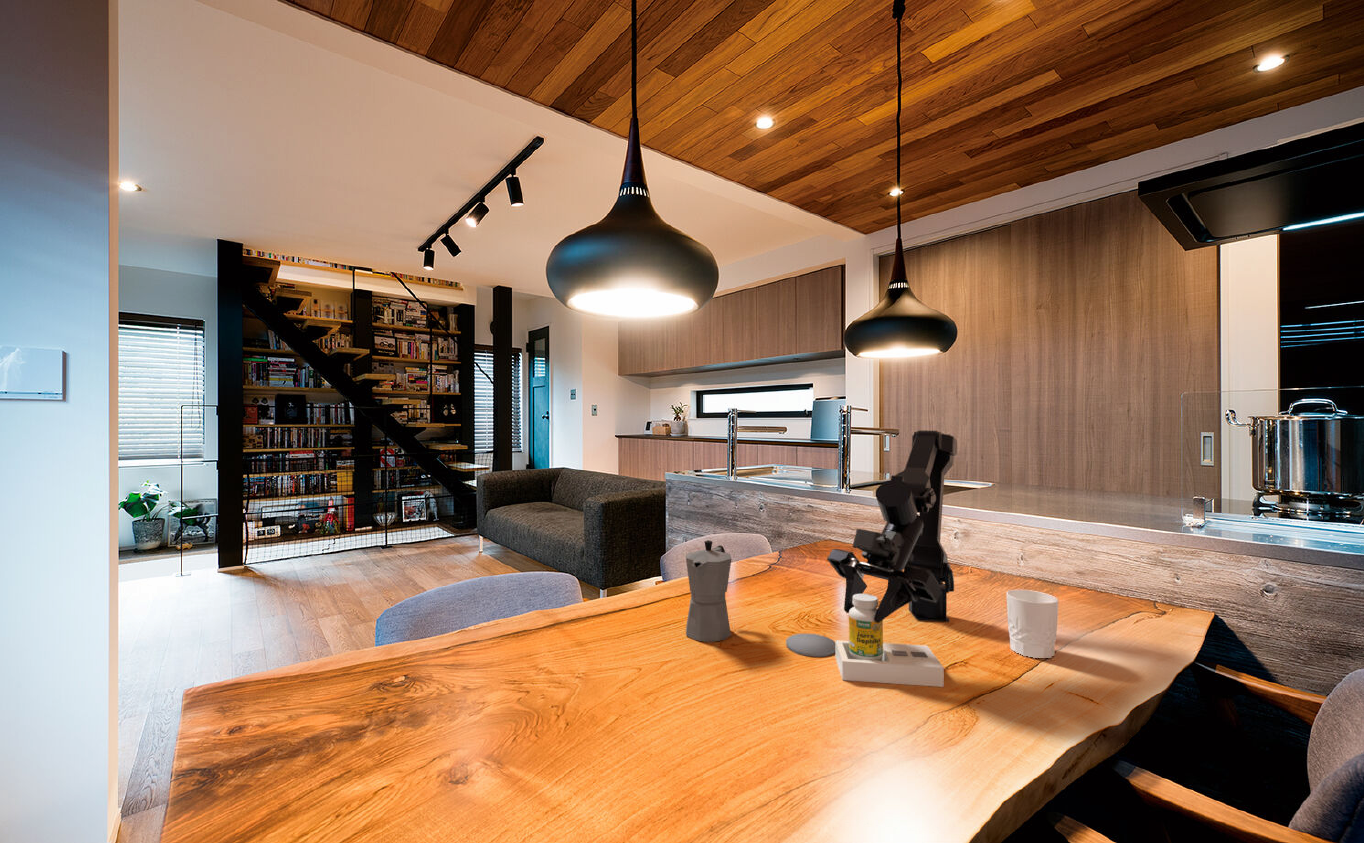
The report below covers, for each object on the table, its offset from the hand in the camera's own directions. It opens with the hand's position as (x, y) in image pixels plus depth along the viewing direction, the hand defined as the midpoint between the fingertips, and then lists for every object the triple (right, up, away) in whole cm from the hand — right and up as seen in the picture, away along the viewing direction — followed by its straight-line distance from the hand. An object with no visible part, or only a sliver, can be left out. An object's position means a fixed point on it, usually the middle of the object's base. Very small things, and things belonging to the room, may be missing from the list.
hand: (860, 616), depth 91 cm
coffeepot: (-24, -9, +17) cm, 31 cm away
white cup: (+33, -9, +8) cm, 36 cm away
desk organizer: (+4, -9, 0) cm, 10 cm away
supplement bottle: (+1, -7, +1) cm, 7 cm away
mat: (-6, -9, +10) cm, 15 cm away
